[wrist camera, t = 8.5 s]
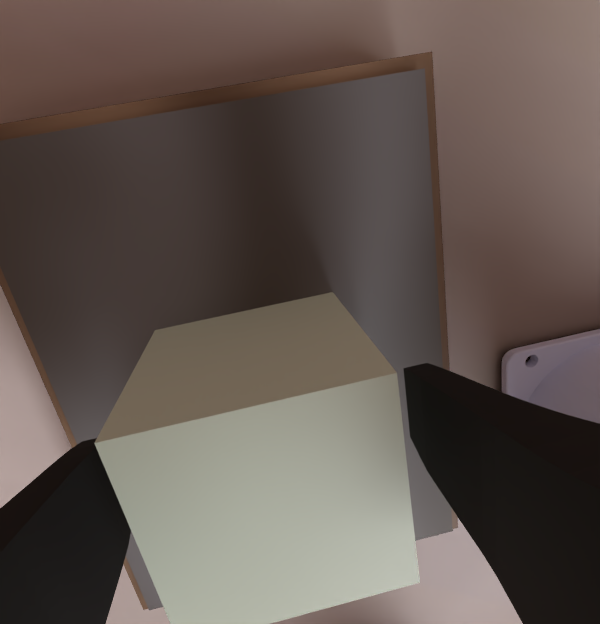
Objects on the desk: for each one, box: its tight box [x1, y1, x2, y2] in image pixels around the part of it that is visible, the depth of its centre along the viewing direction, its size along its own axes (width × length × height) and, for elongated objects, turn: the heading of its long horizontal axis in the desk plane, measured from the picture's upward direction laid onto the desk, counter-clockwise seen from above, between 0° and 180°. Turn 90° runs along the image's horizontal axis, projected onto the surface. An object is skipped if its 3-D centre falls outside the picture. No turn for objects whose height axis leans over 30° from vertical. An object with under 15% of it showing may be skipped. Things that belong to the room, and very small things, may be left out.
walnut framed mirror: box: [0, 52, 458, 610], centre depth 13 cm, size 12×16×2 cm
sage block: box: [94, 292, 420, 624], centre depth 10 cm, size 5×5×5 cm
